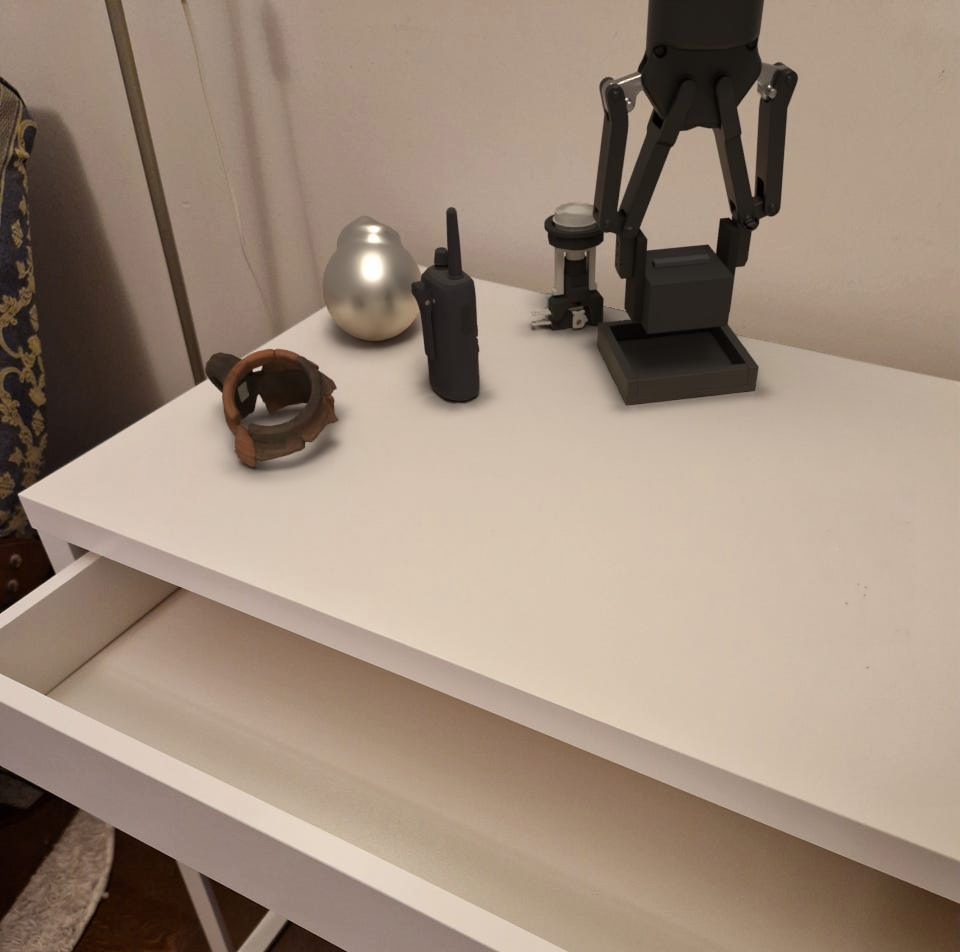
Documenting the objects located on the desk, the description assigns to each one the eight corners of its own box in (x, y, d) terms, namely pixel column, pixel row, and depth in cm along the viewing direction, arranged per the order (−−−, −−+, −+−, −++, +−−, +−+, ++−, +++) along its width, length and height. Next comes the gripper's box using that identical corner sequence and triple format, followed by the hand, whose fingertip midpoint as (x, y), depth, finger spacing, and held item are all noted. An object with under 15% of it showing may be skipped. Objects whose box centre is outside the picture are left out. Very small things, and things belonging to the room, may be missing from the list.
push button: (539, 342, 88) (539, 227, 82) (523, 317, 92) (521, 205, 86) (611, 330, 89) (616, 216, 83) (592, 306, 93) (596, 195, 87)
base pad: (714, 332, 88) (717, 309, 87) (755, 390, 81) (759, 366, 79) (596, 345, 88) (597, 322, 86) (626, 405, 80) (627, 381, 78)
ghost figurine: (442, 315, 93) (434, 205, 87) (407, 363, 87) (394, 247, 80) (353, 307, 96) (338, 199, 89) (312, 352, 89) (292, 240, 82)
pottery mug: (372, 419, 81) (356, 363, 73) (311, 514, 79) (287, 467, 71) (248, 359, 83) (219, 298, 75) (185, 450, 81) (149, 397, 73)
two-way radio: (488, 398, 82) (479, 209, 72) (440, 414, 80) (424, 224, 70) (456, 371, 85) (443, 188, 75) (409, 386, 84) (389, 201, 74)
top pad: (703, 291, 84) (709, 238, 81) (727, 326, 79) (735, 271, 76) (626, 299, 83) (629, 246, 80) (647, 334, 78) (651, 279, 75)
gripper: (573, -6, 62) (567, 343, 77) (877, -30, 63) (810, 318, 79) (550, -28, 67) (549, 302, 83) (830, -50, 69) (776, 279, 84)
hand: (676, 309), depth 81 cm, fingers closed on top pad, 6 cm apart
